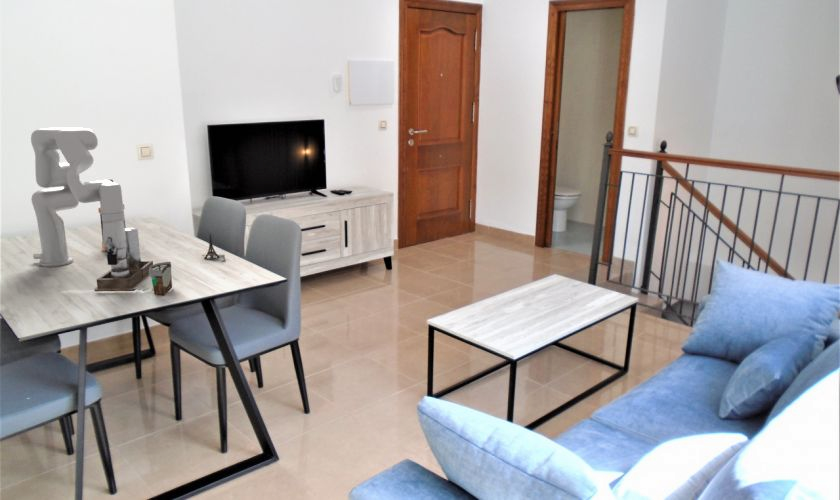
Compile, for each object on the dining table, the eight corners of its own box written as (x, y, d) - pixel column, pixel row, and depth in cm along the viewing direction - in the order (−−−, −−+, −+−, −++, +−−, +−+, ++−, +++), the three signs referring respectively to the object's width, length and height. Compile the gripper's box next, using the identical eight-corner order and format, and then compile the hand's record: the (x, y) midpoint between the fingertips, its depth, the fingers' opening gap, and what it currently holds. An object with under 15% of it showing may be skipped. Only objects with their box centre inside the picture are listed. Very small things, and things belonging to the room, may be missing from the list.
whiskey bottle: (129, 244, 302) (121, 177, 294) (126, 249, 293) (119, 181, 285) (105, 246, 299) (97, 178, 291) (102, 251, 290) (93, 181, 282)
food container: (156, 286, 242) (154, 261, 239) (173, 286, 242) (171, 261, 240) (145, 297, 230) (143, 271, 227) (163, 297, 230) (160, 270, 228)
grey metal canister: (121, 275, 251) (116, 231, 247) (127, 271, 258) (123, 227, 253) (138, 275, 252) (134, 231, 247) (144, 271, 258) (140, 227, 253)
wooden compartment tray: (94, 291, 236) (93, 279, 234) (121, 271, 261) (120, 260, 259) (133, 291, 236) (132, 279, 235) (156, 271, 262) (155, 260, 260)
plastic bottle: (123, 285, 239) (117, 234, 234) (107, 284, 241) (101, 232, 236) (134, 280, 245) (129, 230, 240) (118, 279, 247) (113, 229, 242)
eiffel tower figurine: (226, 263, 276) (224, 233, 273) (201, 265, 273) (199, 235, 269) (224, 254, 290) (222, 226, 286) (200, 256, 286) (198, 227, 283)
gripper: (112, 212, 244) (116, 255, 248) (92, 221, 227) (98, 267, 231) (132, 212, 244) (136, 255, 248) (114, 221, 227) (119, 267, 232)
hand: (118, 261), depth 240 cm, fingers open, 9 cm apart
